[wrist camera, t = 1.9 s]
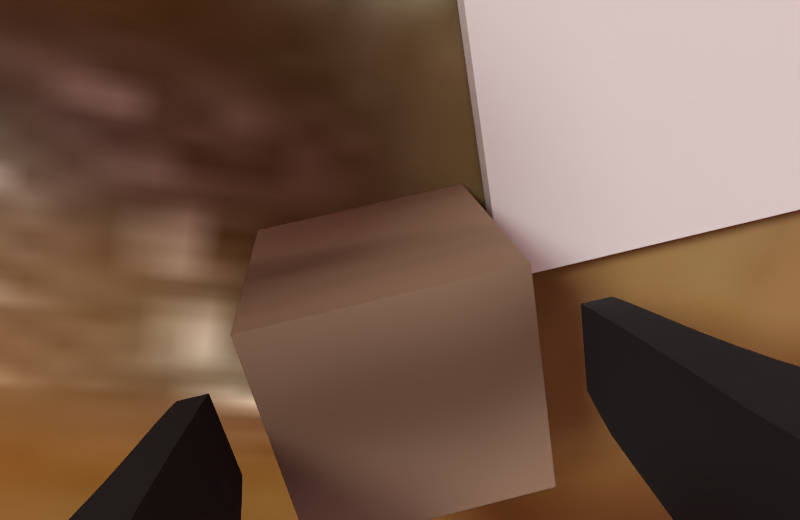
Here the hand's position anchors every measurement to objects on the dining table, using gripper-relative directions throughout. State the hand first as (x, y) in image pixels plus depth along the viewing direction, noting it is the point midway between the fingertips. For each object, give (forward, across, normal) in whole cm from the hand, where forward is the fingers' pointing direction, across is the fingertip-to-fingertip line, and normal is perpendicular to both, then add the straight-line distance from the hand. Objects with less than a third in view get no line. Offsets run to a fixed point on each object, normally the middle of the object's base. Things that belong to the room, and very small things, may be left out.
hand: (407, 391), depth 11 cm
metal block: (+4, 0, 0) cm, 4 cm away
